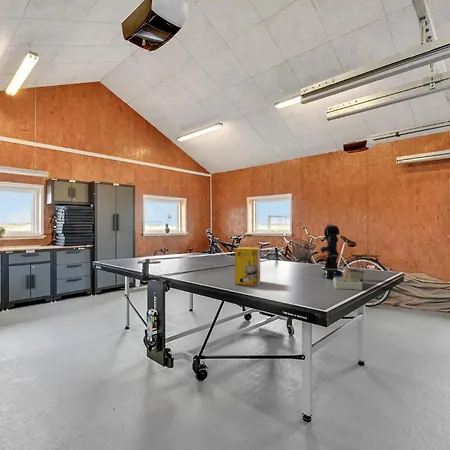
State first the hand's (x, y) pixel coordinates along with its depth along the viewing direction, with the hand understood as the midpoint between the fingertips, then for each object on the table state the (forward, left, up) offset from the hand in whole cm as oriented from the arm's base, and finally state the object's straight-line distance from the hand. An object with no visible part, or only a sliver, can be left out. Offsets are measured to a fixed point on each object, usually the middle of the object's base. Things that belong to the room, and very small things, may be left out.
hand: (332, 264), depth 216 cm
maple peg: (+14, +8, -13) cm, 21 cm away
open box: (+14, +8, -13) cm, 21 cm away
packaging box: (+18, -59, -13) cm, 63 cm away
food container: (-1, +15, -13) cm, 20 cm away
